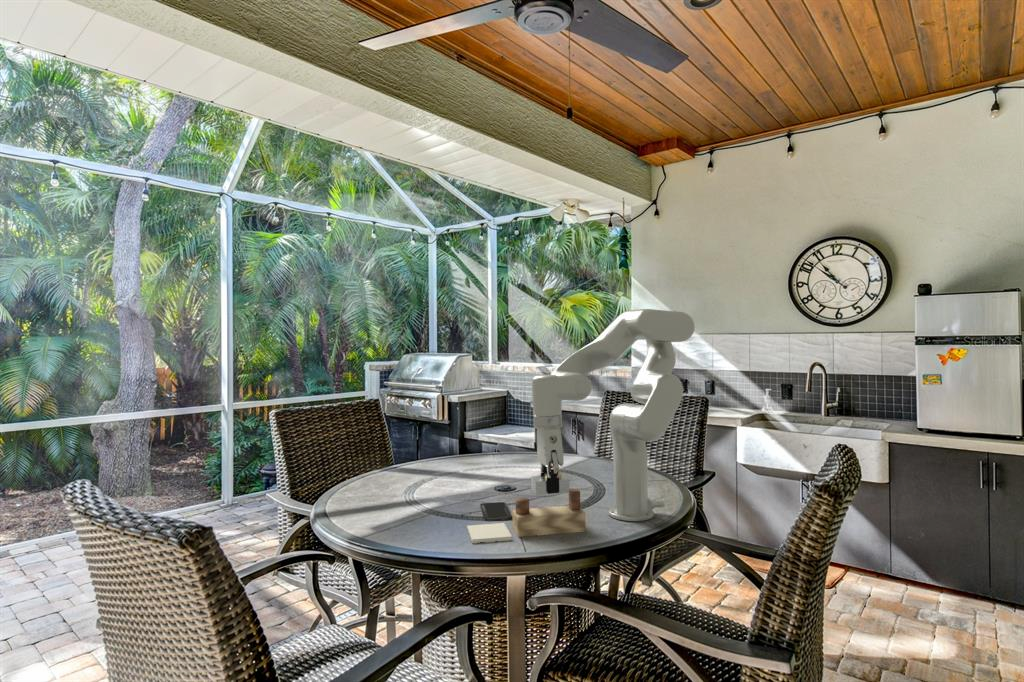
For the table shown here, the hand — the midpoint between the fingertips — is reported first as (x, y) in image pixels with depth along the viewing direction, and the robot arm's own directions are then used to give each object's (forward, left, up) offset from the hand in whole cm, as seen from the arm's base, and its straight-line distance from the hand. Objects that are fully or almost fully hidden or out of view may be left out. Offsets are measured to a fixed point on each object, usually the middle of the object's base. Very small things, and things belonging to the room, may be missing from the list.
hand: (550, 489), depth 153 cm
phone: (+12, -19, -11) cm, 25 cm away
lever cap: (0, 0, 0) cm, 0 cm away
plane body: (+1, 0, -11) cm, 11 cm away
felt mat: (+17, 0, -11) cm, 20 cm away
